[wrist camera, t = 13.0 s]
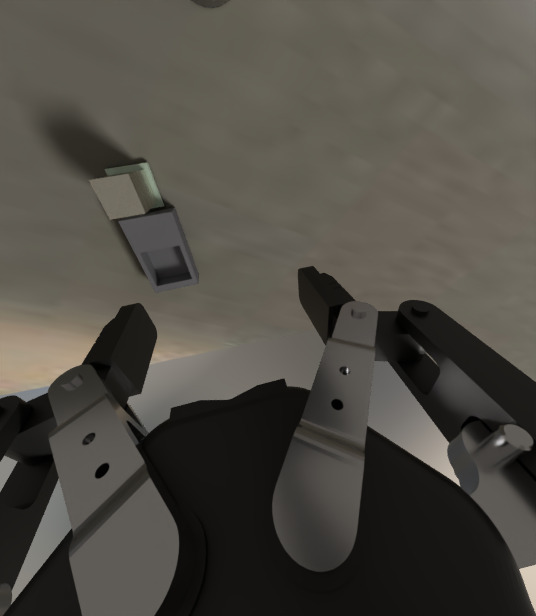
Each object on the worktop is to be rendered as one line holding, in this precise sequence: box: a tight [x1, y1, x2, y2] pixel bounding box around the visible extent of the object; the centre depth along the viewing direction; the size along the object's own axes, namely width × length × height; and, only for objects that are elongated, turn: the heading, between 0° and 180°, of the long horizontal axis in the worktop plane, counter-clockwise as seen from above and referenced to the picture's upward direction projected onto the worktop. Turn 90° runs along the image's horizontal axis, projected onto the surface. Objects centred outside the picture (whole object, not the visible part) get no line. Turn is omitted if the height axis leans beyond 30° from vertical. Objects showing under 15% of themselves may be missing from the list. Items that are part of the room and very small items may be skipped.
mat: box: [104, 162, 164, 208], centre depth 34 cm, size 6×6×1 cm
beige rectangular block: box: [89, 169, 157, 220], centre depth 30 cm, size 4×4×8 cm
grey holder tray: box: [118, 207, 199, 293], centre depth 39 cm, size 13×8×4 cm, turn 7°
